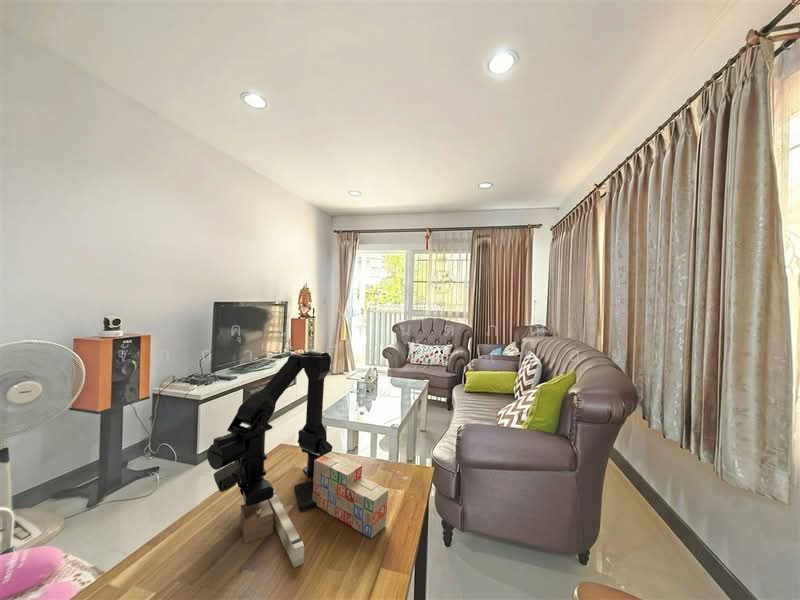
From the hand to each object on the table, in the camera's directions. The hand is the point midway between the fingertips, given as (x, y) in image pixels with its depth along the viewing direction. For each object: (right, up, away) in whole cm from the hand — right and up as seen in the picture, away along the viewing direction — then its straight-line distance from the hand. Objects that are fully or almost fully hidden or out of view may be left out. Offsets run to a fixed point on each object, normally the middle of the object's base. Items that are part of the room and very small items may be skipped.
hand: (250, 510), depth 82 cm
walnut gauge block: (+3, -2, -4) cm, 6 cm away
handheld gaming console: (+14, -2, +9) cm, 17 cm away
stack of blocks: (+25, -3, +2) cm, 25 cm away
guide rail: (+10, -2, -5) cm, 11 cm away
